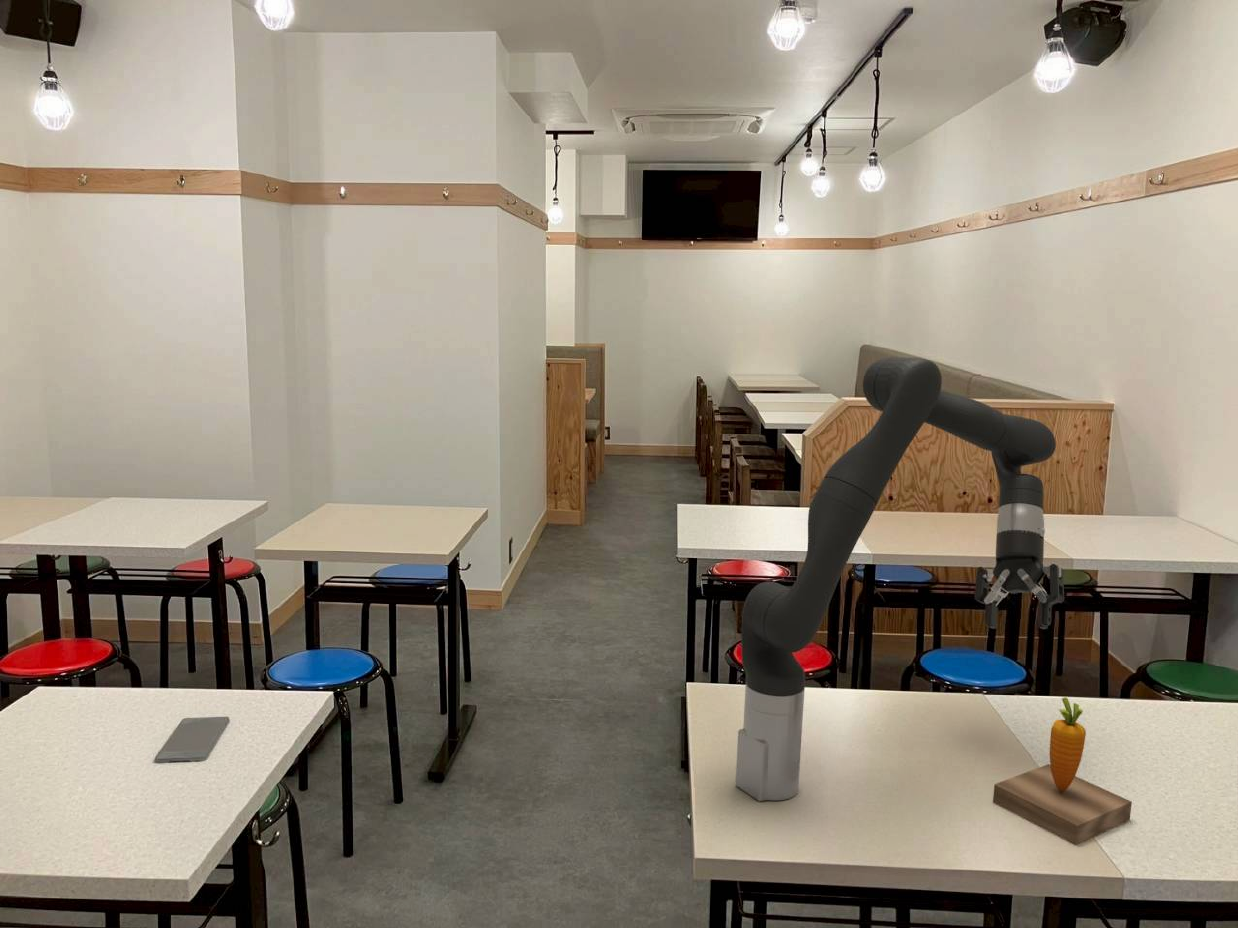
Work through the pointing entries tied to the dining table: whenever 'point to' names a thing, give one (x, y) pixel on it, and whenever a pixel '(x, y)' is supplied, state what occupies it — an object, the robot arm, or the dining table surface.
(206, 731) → the phone
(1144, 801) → the dining table surface
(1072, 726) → the carrot
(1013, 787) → the walnut plinth
